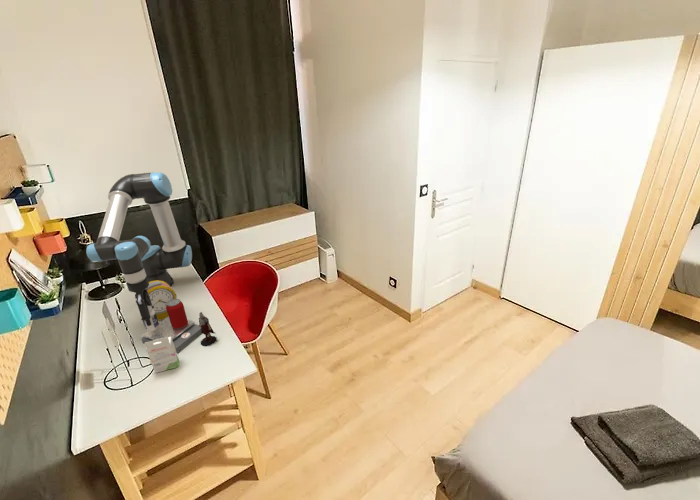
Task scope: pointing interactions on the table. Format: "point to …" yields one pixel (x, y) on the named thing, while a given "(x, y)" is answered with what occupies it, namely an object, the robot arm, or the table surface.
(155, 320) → the pill bottle
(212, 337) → the figurine
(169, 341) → the ink box
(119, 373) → the table surface
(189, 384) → the table surface
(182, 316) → the beverage can
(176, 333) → the silver square platform
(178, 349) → the scale
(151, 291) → the alarm clock
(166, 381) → the table surface
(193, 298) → the table surface
